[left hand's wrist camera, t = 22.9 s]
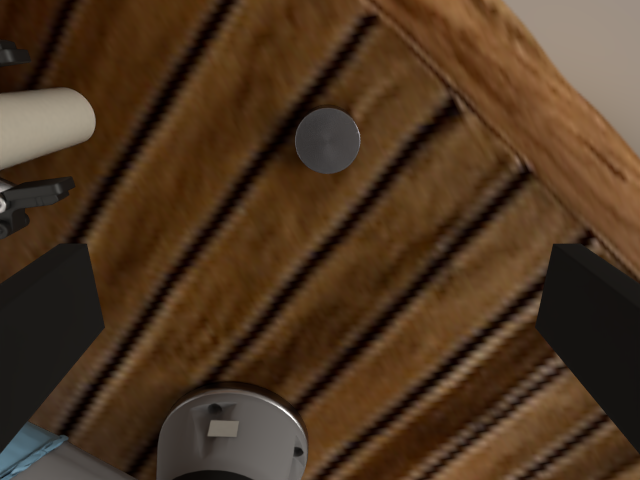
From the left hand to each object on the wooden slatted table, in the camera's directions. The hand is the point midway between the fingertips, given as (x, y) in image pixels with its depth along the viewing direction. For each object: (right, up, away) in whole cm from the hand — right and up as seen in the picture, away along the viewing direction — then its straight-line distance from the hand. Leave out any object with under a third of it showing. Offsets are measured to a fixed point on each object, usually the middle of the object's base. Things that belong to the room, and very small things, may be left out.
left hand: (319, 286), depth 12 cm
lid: (+1, +9, +20) cm, 21 cm away
